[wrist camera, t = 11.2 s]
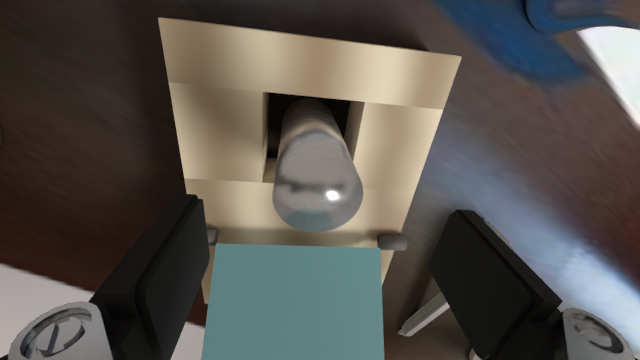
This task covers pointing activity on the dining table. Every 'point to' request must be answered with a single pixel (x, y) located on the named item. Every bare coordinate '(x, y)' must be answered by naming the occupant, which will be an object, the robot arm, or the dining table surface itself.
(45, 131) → the dining table surface
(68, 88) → the dining table surface
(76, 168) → the dining table surface
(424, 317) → the caliper
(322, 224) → the steel peg
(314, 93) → the wooden block
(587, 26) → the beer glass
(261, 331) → the latch flap
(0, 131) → the olive oil
